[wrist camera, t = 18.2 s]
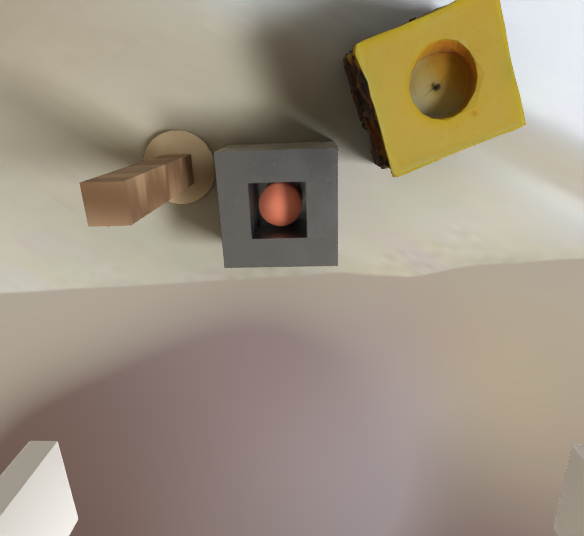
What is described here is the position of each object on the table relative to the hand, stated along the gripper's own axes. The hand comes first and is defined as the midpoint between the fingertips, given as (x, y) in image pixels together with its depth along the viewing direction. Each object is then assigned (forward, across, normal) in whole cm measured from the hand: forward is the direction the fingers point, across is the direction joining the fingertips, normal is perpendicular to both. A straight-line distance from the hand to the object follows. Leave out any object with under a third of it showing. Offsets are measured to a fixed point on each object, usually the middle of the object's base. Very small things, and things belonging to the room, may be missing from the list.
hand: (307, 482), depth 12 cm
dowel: (+34, -13, +4) cm, 37 cm away
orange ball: (+34, -3, +1) cm, 34 cm away
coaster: (+35, -13, +4) cm, 37 cm away
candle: (+35, +9, +10) cm, 38 cm away
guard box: (+35, -3, +1) cm, 35 cm away
